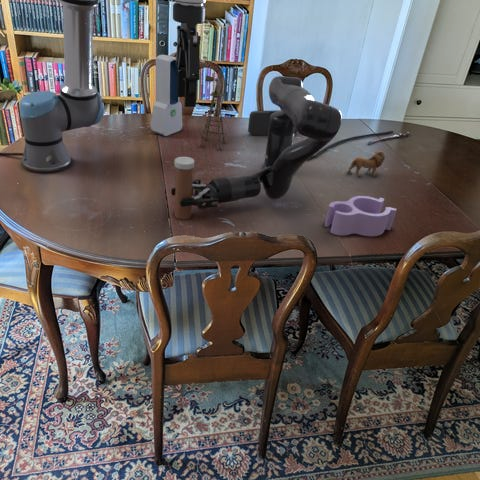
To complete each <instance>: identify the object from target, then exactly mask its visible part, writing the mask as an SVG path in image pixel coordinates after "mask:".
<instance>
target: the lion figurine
mask: <svg viewBox="0 0 480 480" xmlns="http://www.w3.org/2000/svg"><path fill="white" fill-rule="evenodd" d="M385 154H386V153H385V152H384V151H383V150H377V151H375V153H374V155H372V156H371V157H370V158H364V157H361V156H360V157H355V158H354V160H353V161H352V162H351V164H350V166H349V167H348V170H347V173H346V175H349V174H352V171H351V170H352V169H354V168H355V174H356V176H357V177H359V178H360V177H362V176H361V174H360V173H359V172H360V171H361V169H362V168H364V169H367V172H366V173H367V174H371V177H376V174H375V173H376V171H377V169H378V168H380V167H381V166H382V165H383V163H384V161H385V159H386V155H385Z"/></svg>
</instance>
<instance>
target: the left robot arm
mask: <svg viewBox="0 0 480 480" xmlns="http://www.w3.org/2000/svg"><path fill="white" fill-rule="evenodd" d="M58 2H60V4H61V5H62V23H63V24H62V27H63V29H62V30H63V31H62V32H63V58H64V59H63V61H64V64H63V65H64V82H62V84H61V85H60V86H59V90H60V94H57V93H56V92H54V91H51V90H44V91H42V90H37V91H33V92H30V93H27V94H25V95H24V96H22V97H21V99H20V100H19V103H18V104H19V116H20V120H21V126H22V132H23V137H24V148H23V152H0V156H8V157H9V156H11V157H12V156H16V157H17V156H22V158H21V159H22V160H21V161H22V166H23V168H24V169H25V170H27V171H29V172H33V173H39V174H46V173H56V172H61V171H63V170H66V169H67V168H69V167H70V166H71V163H72V159H71V155H70V153H69V151H68V150H67V149H68V148H67V147H66V145H65V143H64V140H63V132H68V131H71V130H76V129H81V128H89V127H91V126H95V125H97V124H99V123H100V122H101V121H102V120H103V117H104V115H105V104H104V102H103V96H102V95H101V94H100V93H99V91H98V89H97V87H96V86H94V84H93V65H94V63H93V58H94V57H93V55H94V54H93V52H94V50H93V49H94V45H93V43H94V42H93V41H94V39H93V38H94V9H95V8H96V7H97V6H98V5H99V0H58ZM206 2H207V0H174V3H173V4H172V20H173V21H174V22H176V23H180V25H177V26H176V53H175V54H176V56H175V57H176V66H177V69H178V70H179V71H178V94H177V96H178V97H179V98H184V107H185V108H196V107H197V87H198V86H197V83H198V81H200V79H201V76H200V75H201V74H200V72H201V71H200V68H201V67H200V66H201V65H200V63H201V61H200V59H201V54H200V53H201V40H202V37H201V35H199V32H198V30H197V25H202V24H203V23H205V20H206V7H205V5H204V4H206Z"/></svg>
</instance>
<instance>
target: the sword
mask: <svg viewBox="0 0 480 480" xmlns="http://www.w3.org/2000/svg"><path fill="white" fill-rule="evenodd" d="M401 134H402V133H396V134H392V135H389V136H383V137H379V138H376V139H372V140H370V141H368V143H367V144H368V145H372V144H373V143H377V142H381V141H384V140H389V139H393V138H400V137H402V136H406V135H409V134H404V135H401Z"/></svg>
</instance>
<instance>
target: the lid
mask: <svg viewBox="0 0 480 480" xmlns="http://www.w3.org/2000/svg"><path fill="white" fill-rule="evenodd" d="M173 164H174V167H175V168H176V167H177V168H179V169H184V170H187V169H192V168H193V169H194V168H195V159H194V158H192V157H190V156H178V157H176V158H174V163H173Z"/></svg>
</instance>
